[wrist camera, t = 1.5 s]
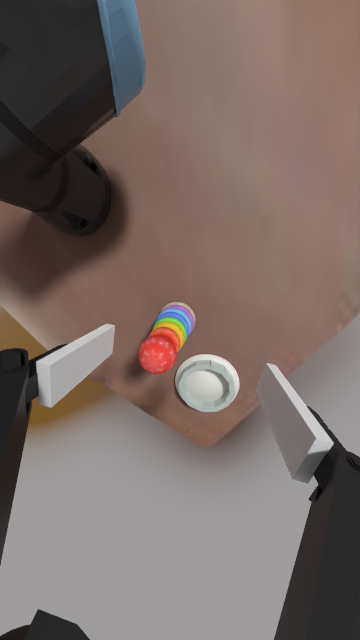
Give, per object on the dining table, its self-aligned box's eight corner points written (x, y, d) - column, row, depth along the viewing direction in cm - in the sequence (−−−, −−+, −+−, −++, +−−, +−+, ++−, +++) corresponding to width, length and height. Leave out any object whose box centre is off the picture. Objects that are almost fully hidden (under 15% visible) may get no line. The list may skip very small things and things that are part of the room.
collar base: (167, 393, 44) (165, 400, 41) (188, 343, 39) (187, 348, 37) (222, 416, 43) (223, 425, 41) (250, 369, 39) (253, 375, 36)
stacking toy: (155, 305, 38) (112, 335, 20) (191, 297, 36) (177, 322, 19) (165, 338, 40) (132, 392, 22) (199, 332, 38) (193, 384, 20)
